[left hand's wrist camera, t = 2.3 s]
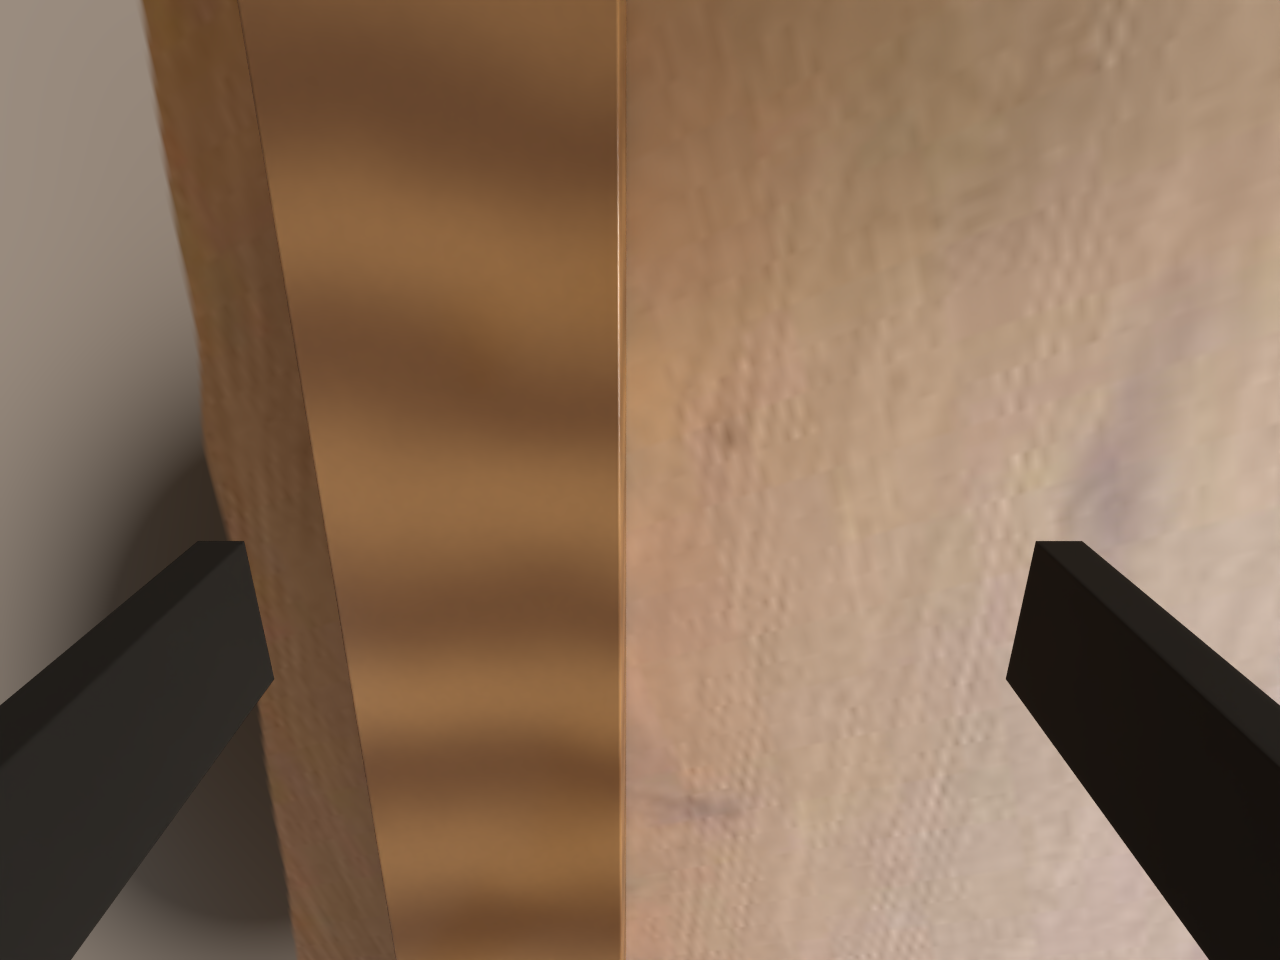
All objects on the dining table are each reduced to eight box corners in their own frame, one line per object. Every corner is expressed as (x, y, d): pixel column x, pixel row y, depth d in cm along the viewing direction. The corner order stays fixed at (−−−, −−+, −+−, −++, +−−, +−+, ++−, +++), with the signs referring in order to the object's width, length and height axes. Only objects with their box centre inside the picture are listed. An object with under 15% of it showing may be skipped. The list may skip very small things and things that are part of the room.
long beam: (346, -2, 24) (223, -75, 17) (626, 0, 24) (619, -72, 17) (485, 1167, 48) (457, 1338, 41) (625, 1169, 48) (622, 1340, 41)
